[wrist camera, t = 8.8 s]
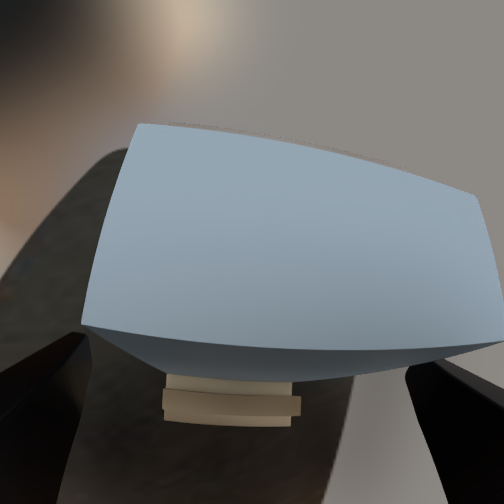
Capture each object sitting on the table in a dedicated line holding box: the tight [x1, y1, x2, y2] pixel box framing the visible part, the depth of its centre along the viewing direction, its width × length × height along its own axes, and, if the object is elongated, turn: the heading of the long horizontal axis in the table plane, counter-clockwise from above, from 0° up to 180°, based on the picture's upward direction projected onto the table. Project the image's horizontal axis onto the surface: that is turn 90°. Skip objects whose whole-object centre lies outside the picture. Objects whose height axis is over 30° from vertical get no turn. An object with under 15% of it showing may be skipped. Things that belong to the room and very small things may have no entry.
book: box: [81, 124, 504, 382], centre depth 10 cm, size 3×6×13 cm, turn 88°
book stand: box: [162, 122, 408, 427], centre depth 12 cm, size 9×6×12 cm
